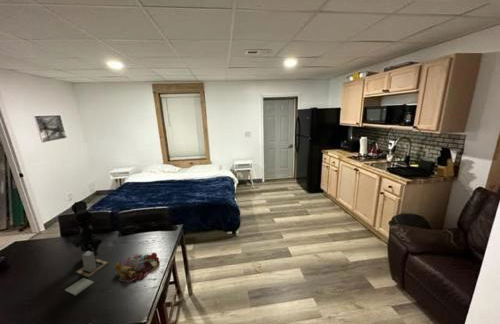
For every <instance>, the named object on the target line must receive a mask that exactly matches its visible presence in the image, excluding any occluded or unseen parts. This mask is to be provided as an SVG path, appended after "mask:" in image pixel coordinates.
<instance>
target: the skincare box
mask: <svg viewBox="0 0 500 324" xmlns="http://www.w3.org/2000/svg"><path fill="white" fill-rule="evenodd" d="M81 259H82V263H83V267H84V270H83V271H84V272H86V273H91V272H92V271H94V270H95V269H97V262H96V263H95V260H96V259H95V255H94V253H93V252H90V251H87V252H84V253H82V254H81Z"/></svg>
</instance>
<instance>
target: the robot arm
mask: <svg viewBox="0 0 500 324" xmlns="http://www.w3.org/2000/svg"><path fill="white" fill-rule="evenodd" d="M71 211H72V213H73V214H74V218H75V223H76V226H77V228H79V231H80V232H79V234H78V235H76V236H75V238H74V239H73V240H72V241H71V242H70V244H71V245H72V246H73V247H74V248H79V247H80V250H81V252H84V253H85V252H87V251H90V252H93V253H94V256H95V255H97V254H98V252H97V251H98V250H99V247H100V245H102V243H103V240H102V239H101V238H97V237H96V236H95V235H93V234H94V230H95V229H93V227H92V223H93V221H94V217H93V214H92V212H90V211H89V210H88V205H87V202H86V201H84V200H80V201H75V202H74V203H73V204H72V205H71Z"/></svg>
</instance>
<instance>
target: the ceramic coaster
mask: <svg viewBox="0 0 500 324" xmlns="http://www.w3.org/2000/svg"><path fill="white" fill-rule="evenodd" d="M94 283H95V282H94V281H93V280H90V279H87V278H85V277H83V278H81V279H79V280H78V281H76V282H75V283H73V284H72V285H70V286H69V287H66V288H65V289H64V292H67V293H69V294H71V295H73V296H77V295H79V293H82V292H83V291H84V290H85V289H87V288H88V287H90V286H91V285H93V284H94Z"/></svg>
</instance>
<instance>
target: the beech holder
mask: <svg viewBox="0 0 500 324" xmlns="http://www.w3.org/2000/svg"><path fill="white" fill-rule="evenodd" d="M95 263H96V264H97V263H99V264H102V265H99V267H96V269H94V270H93V271H91V272H87V271H85V270H84V266H82V267H81V268H78V269H77V270H76V274H78V275H82V276H84V277H87V278H90V277H91V276H93V275H94V274H95V273H97V272H99V271H100V270H102V269H103V268H105V267H106V266H108V265H109V262H108V261H104V260H101V259H99V258H96V259H95Z"/></svg>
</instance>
